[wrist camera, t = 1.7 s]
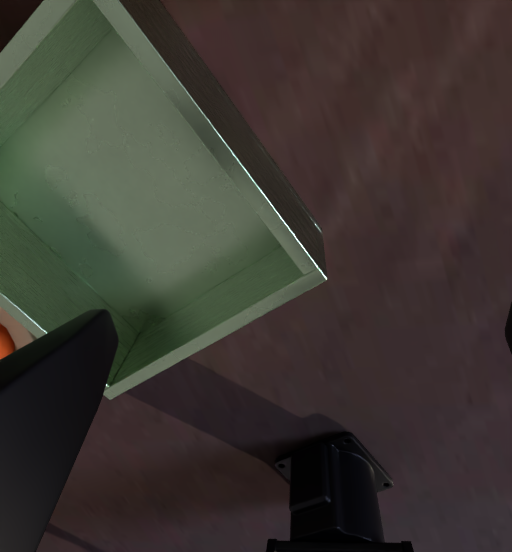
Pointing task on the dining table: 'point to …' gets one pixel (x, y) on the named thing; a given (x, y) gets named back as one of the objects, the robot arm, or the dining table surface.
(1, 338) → the button
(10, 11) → the dining table surface
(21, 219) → the warming box
